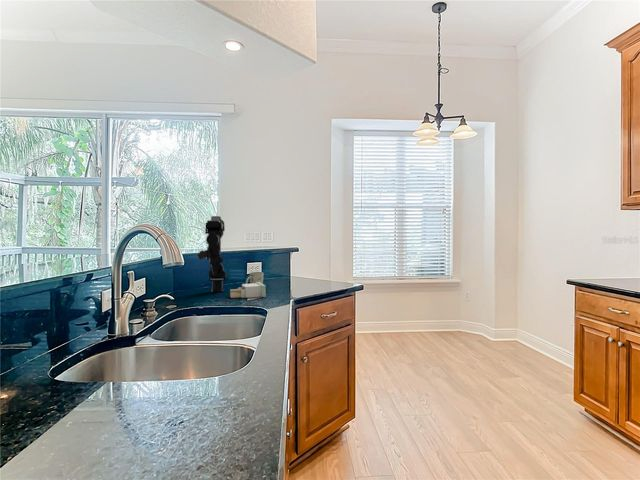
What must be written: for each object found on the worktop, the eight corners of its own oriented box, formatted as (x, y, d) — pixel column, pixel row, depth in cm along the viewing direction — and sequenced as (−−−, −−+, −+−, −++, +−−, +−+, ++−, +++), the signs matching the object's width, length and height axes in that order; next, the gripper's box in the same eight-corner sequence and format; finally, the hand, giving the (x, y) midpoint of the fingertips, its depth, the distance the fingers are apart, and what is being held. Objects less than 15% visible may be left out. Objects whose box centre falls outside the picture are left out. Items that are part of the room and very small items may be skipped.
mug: (266, 289, 218) (266, 272, 217) (252, 292, 207) (251, 274, 207) (256, 288, 222) (256, 271, 222) (241, 291, 212) (240, 273, 211)
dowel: (230, 297, 196) (230, 289, 196) (252, 295, 200) (252, 288, 200) (231, 298, 192) (231, 290, 192) (254, 296, 197) (254, 289, 197)
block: (238, 294, 201) (238, 284, 201) (256, 293, 205) (256, 283, 205) (241, 297, 192) (241, 287, 192) (260, 296, 196) (260, 285, 196)
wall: (255, 292, 207) (255, 282, 207) (259, 292, 208) (259, 281, 208) (261, 297, 194) (261, 285, 194) (265, 296, 195) (265, 285, 195)
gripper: (196, 244, 196) (196, 273, 197) (199, 246, 179) (199, 278, 179) (217, 243, 200) (218, 272, 201) (222, 245, 183) (223, 277, 184)
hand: (214, 275), depth 191 cm, fingers closed
